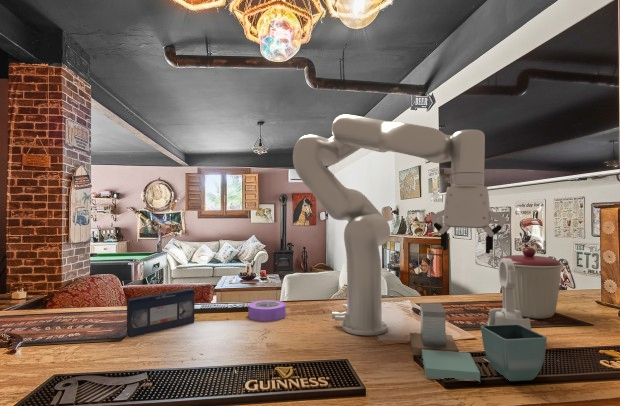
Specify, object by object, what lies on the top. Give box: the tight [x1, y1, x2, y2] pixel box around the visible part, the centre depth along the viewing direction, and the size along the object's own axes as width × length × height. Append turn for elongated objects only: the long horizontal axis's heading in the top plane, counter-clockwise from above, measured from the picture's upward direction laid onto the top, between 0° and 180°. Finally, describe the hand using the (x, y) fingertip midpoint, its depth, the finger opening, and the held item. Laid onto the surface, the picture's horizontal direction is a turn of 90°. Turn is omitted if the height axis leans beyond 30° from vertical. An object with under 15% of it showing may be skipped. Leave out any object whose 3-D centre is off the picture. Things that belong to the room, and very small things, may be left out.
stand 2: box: [421, 349, 481, 383], centre depth 77 cm, size 10×10×2 cm
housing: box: [419, 302, 447, 348], centre depth 89 cm, size 8×5×8 cm, turn 168°
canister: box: [496, 246, 565, 320], centre depth 117 cm, size 18×18×21 cm
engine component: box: [487, 257, 532, 330], centre depth 96 cm, size 11×20×10 cm
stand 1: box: [409, 332, 460, 357], centre depth 89 cm, size 10×10×2 cm
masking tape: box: [247, 299, 287, 322], centre depth 117 cm, size 12×12×4 cm
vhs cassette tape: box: [126, 288, 196, 338], centre depth 105 cm, size 18×3×10 cm, turn 131°
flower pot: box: [480, 324, 548, 382], centre depth 75 cm, size 9×9×9 cm
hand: (466, 251), depth 91 cm, fingers open, 9 cm apart
